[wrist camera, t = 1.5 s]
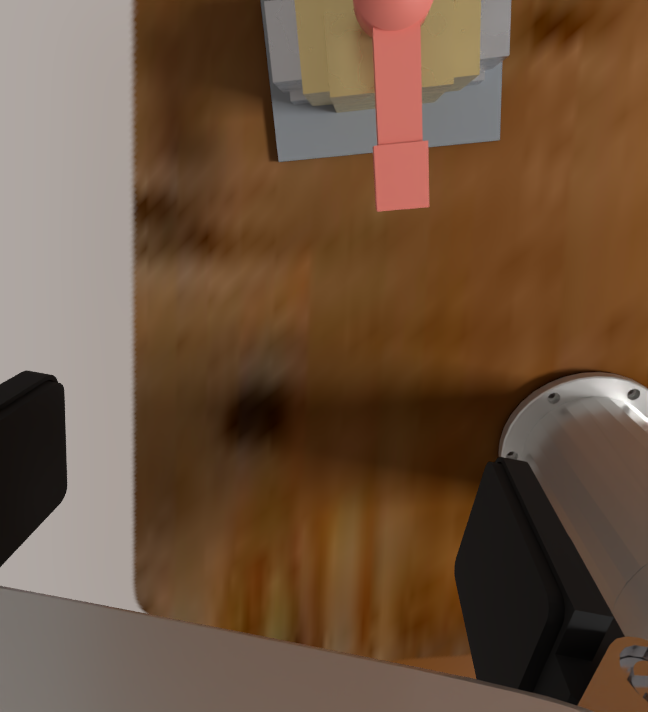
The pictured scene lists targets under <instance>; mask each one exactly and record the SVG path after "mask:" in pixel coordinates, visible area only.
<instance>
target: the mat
mask: <svg viewBox="0 0 648 712" xmlns="http://www.w3.org/2000/svg"><path fill="white" fill-rule="evenodd" d="M264 1H271V0H261V9H262V18H263V27H264V36H265V45H266V54H267V63H268V71H269V80H270V89H271V98H272V107H273V116H274V125H275V134H276V143H277V151H278V160H279V162H284V161H294V160H304V159H314V158H324V157H335V156H345V155H355V154H365V153H373V146H377V131H376V110H375V109H368V110H358V111H349V112H340V113H337V112H336V110H335V108H334V105H333V104H330V105H321V106H312V105H311V104H310V103H307V104H298V105H294V104H293V103H292V102H291V100H290V92H285V93H283V92H282V91H281V90H280V89H279V88H278V87H277V86H276V85H275V84H274V83H273V78H272V69H271V60H270V51H269V42H268V33H267V24H266V15H265V6H264ZM501 86H502V62H500V63H499V64H498V65H497V66H495V67H494V68H493V69H490V70H485V80H484V81H482V82H481V83H480V84H478V85H472V86H465V87H464V88H462V89H461V90H459V91H450V92H445V93H444V94H443V95H442V96H440V97H439V98H438V99H437V100H436V101H435V102H433V103H424V104H422V134H423V141H428V147H436V146H447V145H457V144H467V143H477V142H487V141H497V140H500V118H501Z"/></svg>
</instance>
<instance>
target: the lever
mask: <svg viewBox="0 0 648 712" xmlns="http://www.w3.org/2000/svg"><path fill="white" fill-rule="evenodd" d="M433 1H434V0H353V6H354V12H355V16H356V19H357V21H358V23H359V25H360V26H361V28H362V29H363V31H364V32H365V33H366V34H367V35H369V36H370V37H371V38H372V48H373V69H374V89H375V110H376V131H377V146H373V164H374V183H375V203H376V210H377V211H389V210H400V209H412V208H423V207H429V161H428V141H423V134H422V81H421V26H422V24H423V23H424V21H425V19H426V17H427V15H428V12H429V10H430V8H431V5H432V3H433Z"/></svg>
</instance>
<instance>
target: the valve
mask: <svg viewBox="0 0 648 712" xmlns="http://www.w3.org/2000/svg"><path fill="white" fill-rule="evenodd" d="M264 6H265V15H266V24H267V33H268V42H269V51H270V60H271V69H272V78H273V83H274V84H275V85H276V86H277V87H278V88H279V89H280V90H281V91H282V92H283V93H285V92H290V100H291V102H292V103H293V104H294V105H298V104H307V103H310V104H311V105H312V106H321V105H330V104H333V105H334V108H335V110H336V112H337V113H340V112H349V111H358V110H368V109H375V89H374V69H373V48H372V38H371V37H370V36H369V35H367V34H366V33H365V32H364V31H363V29H362V28H361V26H360V25H359V23H358V21H357V19H356V16H355V12H354V6H353V0H271V1H264ZM510 20H511V0H434V1H433V3H432V5H431V8H430V10H429V12H428V15H427V17H426V19H425V21H424V23H423V24H422V26H421V81H422V104H424V103H433V102H435V101H436V100H437V99H438V98H439V97H440V96H442V95H443V94H444V93H445V92H450V91H459V90H461V89H462V88H464V87H465V86H472V85H478V84H480V83H481V82H482V81H484V80H485V70H490V69H493V68H494V67H495V66H497V65H498V64H499V63H500V62H502V61H503V60H504V59H506V58H507V57H508V56H509V48H510Z"/></svg>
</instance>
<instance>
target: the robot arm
mask: <svg viewBox="0 0 648 712" xmlns="http://www.w3.org/2000/svg"><path fill="white" fill-rule="evenodd" d="M552 393H553V394H552ZM550 394H552V395H550ZM549 395H550V396H549ZM498 455H499V457H498V458H497V460H496V461H495V463H494V462H488V463H487V465H486V467H485V470H484V473H483V476H482V479H481V482H480V485H479V488H478V491H477V495H476V498H475V501H474V504H473V507H472V510H471V513H470V516H469V520H468V523H467V526H466V529H465V532H464V535H463V538H462V541H461V545H460V548H459V551H458V554H457V557H456V561H455V570H454V571H455V580H456V585H457V589H458V594H459V599H460V604H461V608H462V613H463V618H464V622H465V627H466V632H467V636H468V641H469V646H470V650H471V655H472V659H473V664H474V669H475V674H476V678H477V679H473V678H468V677H462V676H458V675H452V674H448V673H443V672H437V671H433V670H428V669H423V668H418V667H413V666H408V665H403V664H398V663H393V662H388V661H383V660H378V659H373V658H368V657H363V656H358V655H353V654H348V653H343V652H338V651H333V650H328V649H323V648H318V647H313V646H308V645H303V644H299V643H294V642H289V641H284V640H279V639H274V638H269V637H264V636H259V635H253V634H248V633H243V632H238V631H233V630H228V629H223V628H218V627H212V626H207V625H202V624H197V623H192V622H187V621H182V620H176V619H171V618H166V617H161V616H156V615H151V614H145V613H140V612H135V611H130V610H124V609H119V608H114V607H109V606H104V605H99V604H93V603H88V602H83V601H78V600H72V599H67V598H61V597H56V596H51V595H45V594H40V593H35V592H29V591H24V590H19V589H14V588H8V587H3V586H0V712H648V389H647V388H646V387H645V386H643V385H641V384H639V383H638V382H636V381H634V380H632V379H630V378H627V377H624V376H620V375H617V374H612V373H603V372H589V373H579V374H574V375H570V376H565V377H562V378H560V379H557V380H555V381H552V382H550V383H548V384H546V385H544V386H542V387H541V388H539V389H537V390H536V391H534V392H533V393H532V394H530V395H529V396H528V397H527V398H526V399H524V400H523V401H522V402H521V403H520V404H519V406H518V407H517V408H516V409H515V410H514V411H513V413H512V414H511V415H510V417H509V419H508V421H507V423H506V424H505V426H504V429H503V432H502V435H501V438H500V442H499V453H498ZM66 490H67V465H66V434H65V400H64V387H63V385H62V384H61V383H58V381H57V379H56V377H55V376H53V375H48V374H43V373H37V372H32V371H24V372H21V373H19V374H18V375H16V376H14V377H12V378H11V379H9V380H7V381H5V382H3V383H2V384H0V567H1V566H2V564H4V562H5V561H6V560H7V559H8V558H9V557H10V556H11V555H12V554H13V553H14V552H15V551H16V550H17V549H18V547H19V546H21V544H22V543H23V542H24V541H25V540H26V539H27V538H28V537H29V536H30V535H31V534H32V533H33V532H34V531H35V530H36V529H37V527H38V526H39V525H40V524H41V523H42V522H43V521H44V520H45V519H46V518H47V517H48V516H49V515H50V514H51V513H52V512H53V510H54V509H55V508H56V507H57V506H58V505H59V504H60V503H61V502H62V500H63V498H64V496H65V494H66Z"/></svg>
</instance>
